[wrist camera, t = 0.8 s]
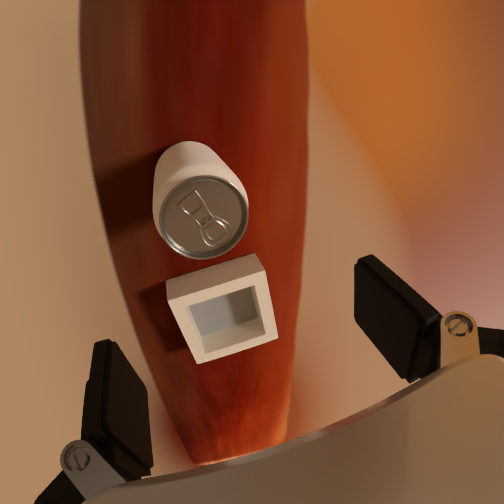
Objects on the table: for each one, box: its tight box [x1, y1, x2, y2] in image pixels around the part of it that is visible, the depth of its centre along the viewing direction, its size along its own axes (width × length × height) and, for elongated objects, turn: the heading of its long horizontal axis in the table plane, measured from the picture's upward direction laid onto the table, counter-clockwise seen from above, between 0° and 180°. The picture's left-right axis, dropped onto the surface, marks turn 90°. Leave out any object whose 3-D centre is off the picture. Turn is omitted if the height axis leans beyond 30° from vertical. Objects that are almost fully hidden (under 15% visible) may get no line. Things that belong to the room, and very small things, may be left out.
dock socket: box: [166, 253, 278, 364], centre depth 36 cm, size 10×10×4 cm
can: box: [153, 141, 249, 260], centre depth 24 cm, size 6×6×12 cm
